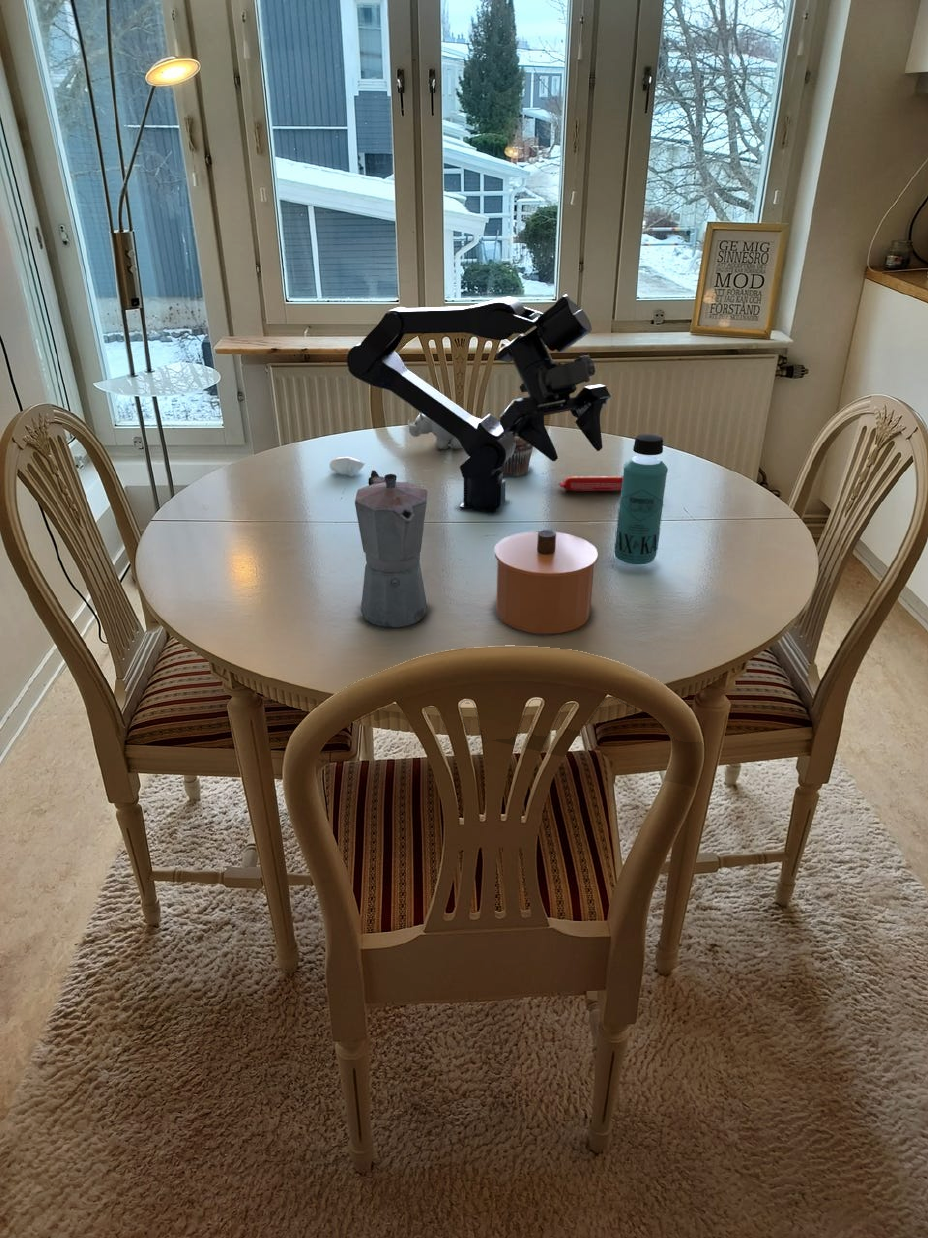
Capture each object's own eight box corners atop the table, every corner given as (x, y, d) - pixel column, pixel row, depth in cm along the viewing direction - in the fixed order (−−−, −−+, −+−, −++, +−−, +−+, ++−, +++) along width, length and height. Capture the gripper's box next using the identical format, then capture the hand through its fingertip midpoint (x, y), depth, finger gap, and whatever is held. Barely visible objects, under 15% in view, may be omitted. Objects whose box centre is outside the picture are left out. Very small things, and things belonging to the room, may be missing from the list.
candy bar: (642, 487, 161) (644, 472, 159) (647, 494, 157) (648, 478, 156) (557, 488, 160) (558, 472, 159) (559, 494, 157) (560, 479, 156)
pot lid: (479, 571, 110) (480, 545, 108) (512, 532, 121) (513, 508, 120) (583, 588, 106) (585, 561, 104) (607, 546, 117) (609, 522, 115)
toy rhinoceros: (409, 440, 186) (408, 401, 182) (464, 441, 186) (464, 401, 182) (406, 451, 179) (405, 410, 175) (464, 451, 179) (464, 410, 175)
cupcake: (474, 472, 168) (474, 421, 163) (498, 459, 175) (500, 410, 170) (517, 481, 163) (519, 429, 159) (540, 467, 171) (543, 417, 166)
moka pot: (381, 645, 109) (374, 496, 100) (339, 595, 121) (329, 458, 112) (448, 628, 113) (448, 483, 103) (401, 582, 125) (396, 448, 115)
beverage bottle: (608, 556, 133) (620, 429, 124) (649, 555, 134) (665, 429, 124) (618, 574, 128) (631, 443, 118) (661, 573, 128) (678, 442, 118)
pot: (483, 623, 114) (484, 565, 110) (513, 584, 125) (515, 530, 120) (575, 641, 110) (580, 581, 106) (598, 599, 121) (603, 543, 117)
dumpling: (330, 481, 164) (325, 460, 163) (333, 477, 169) (328, 457, 168) (366, 474, 164) (361, 453, 162) (368, 470, 169) (364, 450, 167)
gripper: (513, 345, 125) (558, 437, 123) (607, 332, 135) (651, 417, 132) (481, 388, 135) (522, 475, 132) (571, 373, 144) (611, 454, 141)
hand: (578, 454), depth 134 cm, fingers open, 9 cm apart
